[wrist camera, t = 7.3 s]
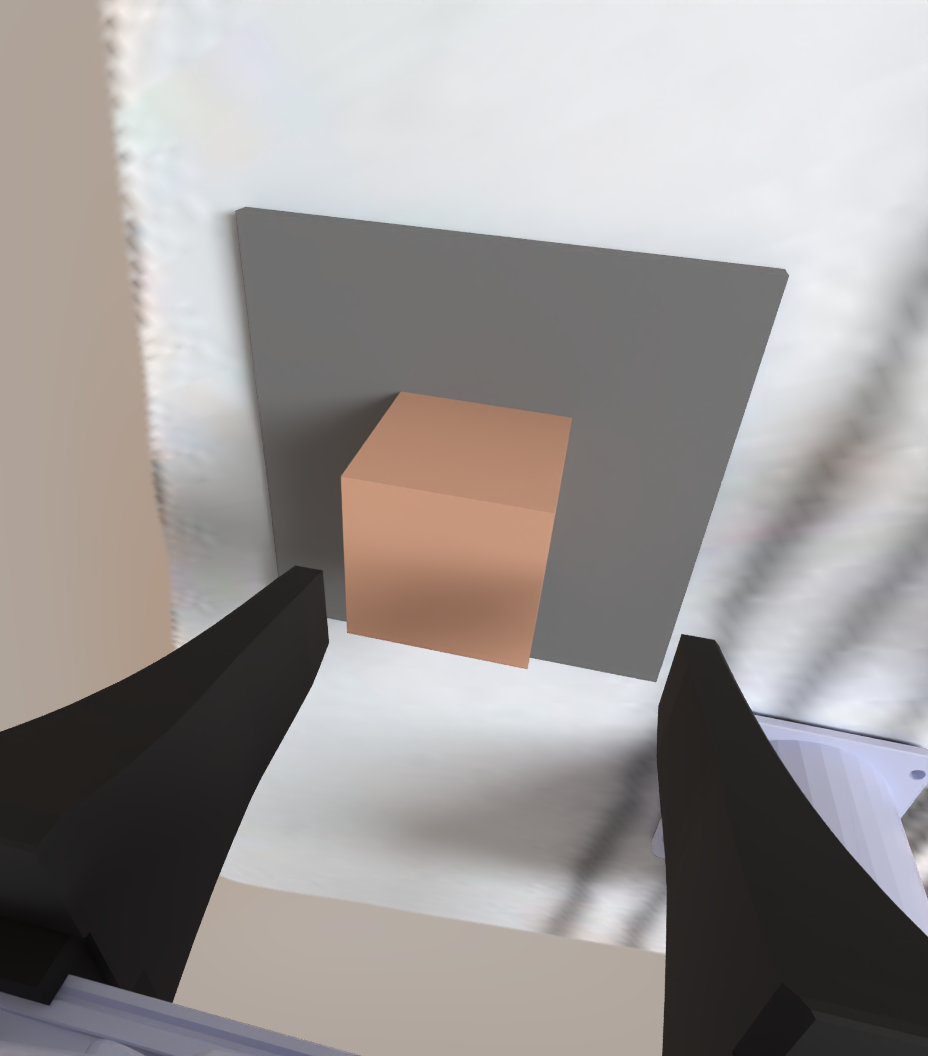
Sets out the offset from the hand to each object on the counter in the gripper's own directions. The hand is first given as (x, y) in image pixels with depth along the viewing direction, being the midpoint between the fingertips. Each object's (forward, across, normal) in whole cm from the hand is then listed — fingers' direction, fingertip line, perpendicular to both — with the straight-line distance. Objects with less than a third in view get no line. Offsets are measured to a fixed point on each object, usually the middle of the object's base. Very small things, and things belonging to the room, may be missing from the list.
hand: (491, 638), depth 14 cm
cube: (+8, +2, +1) cm, 8 cm away
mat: (+8, +2, +1) cm, 9 cm away
